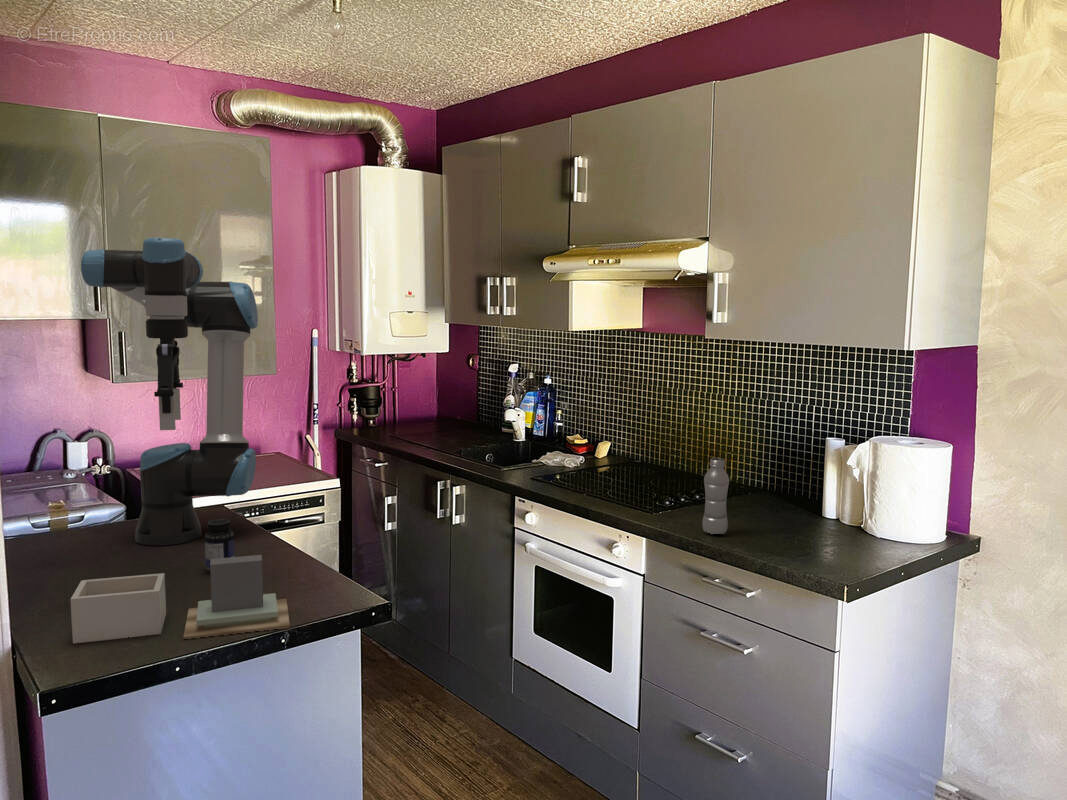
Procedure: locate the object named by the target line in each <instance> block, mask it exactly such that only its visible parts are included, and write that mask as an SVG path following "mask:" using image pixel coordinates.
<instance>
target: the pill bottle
mask: <svg viewBox="0 0 1067 800" xmlns="http://www.w3.org/2000/svg"><path fill="white" fill-rule="evenodd" d="M230 527H231V520H229V519H226V518H218V519H212V520H209V521H208V522H207V527H206V528H207V529H208V532H207V533H205V534H204V555H205V558H204V559H205V560H204V561H205V571H206V573H209V574H211V573H210V561H211V559H219V558H230V557H236V556H235V555H236V554H235V553H236V552H235V533H234V532H233V531H232V530H231V529H230Z"/></svg>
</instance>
